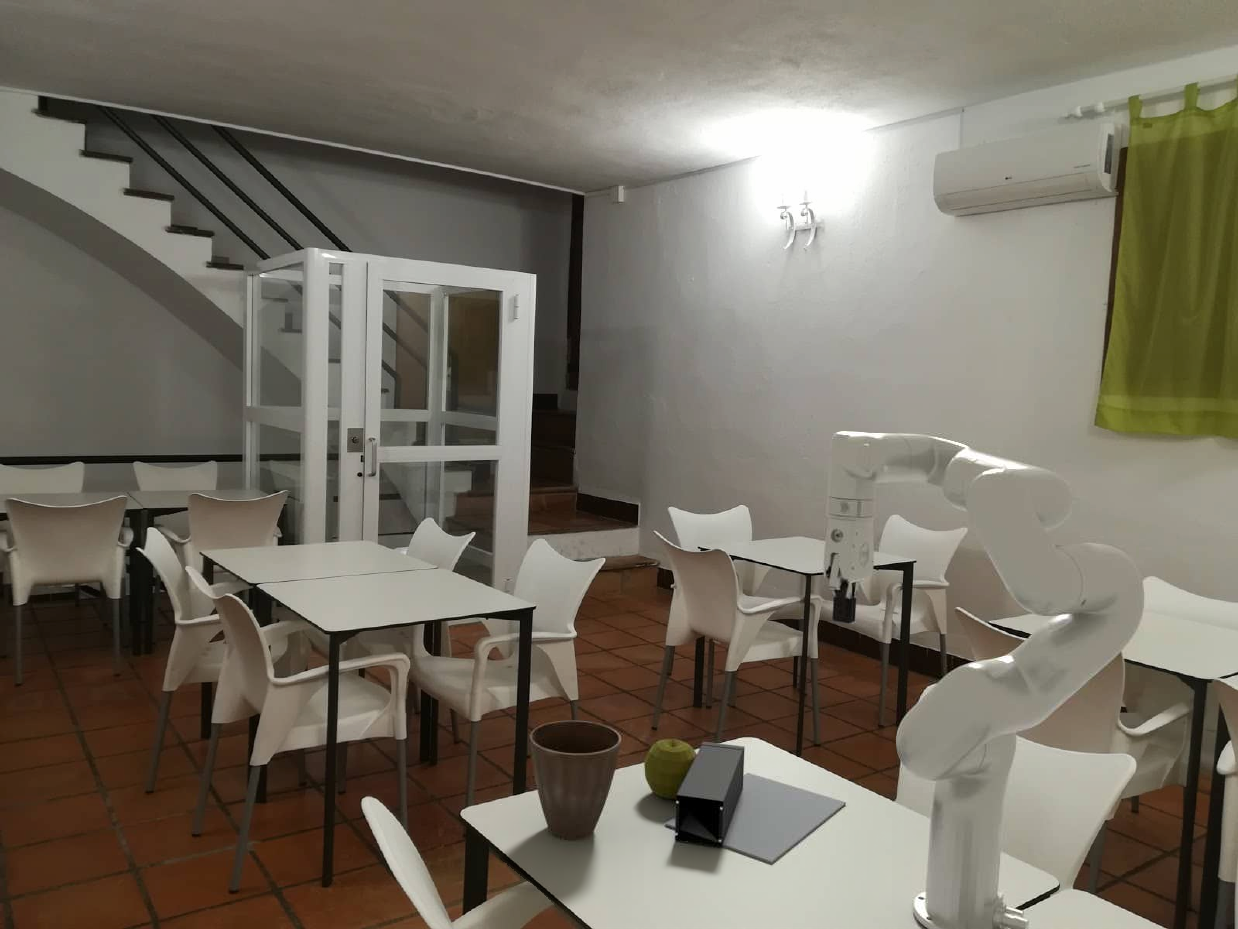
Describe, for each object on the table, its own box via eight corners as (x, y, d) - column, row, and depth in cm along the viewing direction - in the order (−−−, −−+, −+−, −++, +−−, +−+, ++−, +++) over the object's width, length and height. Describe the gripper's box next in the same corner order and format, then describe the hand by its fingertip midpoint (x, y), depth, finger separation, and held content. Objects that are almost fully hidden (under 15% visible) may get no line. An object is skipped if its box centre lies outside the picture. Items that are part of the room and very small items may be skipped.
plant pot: (635, 836, 158) (639, 741, 157) (560, 861, 149) (564, 760, 147) (581, 803, 170) (585, 715, 168) (509, 824, 160) (512, 730, 159)
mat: (845, 804, 174) (845, 802, 174) (771, 864, 151) (771, 861, 150) (747, 774, 186) (747, 772, 186) (664, 825, 162) (665, 823, 162)
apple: (636, 801, 171) (639, 741, 171) (650, 781, 181) (653, 724, 180) (691, 811, 169) (694, 749, 168) (703, 789, 178) (706, 731, 177)
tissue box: (723, 801, 154) (747, 740, 181) (675, 794, 156) (705, 735, 183) (721, 848, 154) (745, 781, 181) (673, 841, 156) (704, 775, 183)
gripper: (854, 515, 146) (847, 633, 148) (890, 507, 158) (882, 617, 160) (808, 509, 151) (802, 625, 152) (846, 503, 163) (840, 610, 164)
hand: (843, 621), depth 156 cm, fingers closed
